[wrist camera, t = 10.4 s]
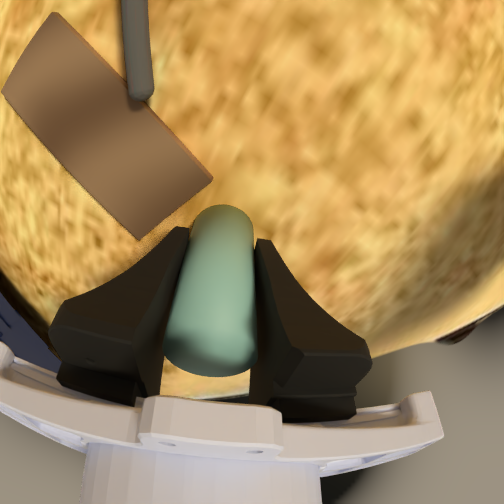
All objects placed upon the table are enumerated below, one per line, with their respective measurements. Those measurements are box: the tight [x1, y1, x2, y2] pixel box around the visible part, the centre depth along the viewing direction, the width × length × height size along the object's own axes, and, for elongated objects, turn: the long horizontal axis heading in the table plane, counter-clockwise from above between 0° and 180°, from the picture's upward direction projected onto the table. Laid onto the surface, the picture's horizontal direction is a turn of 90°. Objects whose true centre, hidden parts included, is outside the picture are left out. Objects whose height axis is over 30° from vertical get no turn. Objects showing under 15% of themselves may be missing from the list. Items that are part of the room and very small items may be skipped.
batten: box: [1, 12, 213, 240], centre depth 10 cm, size 12×5×1 cm, turn 37°
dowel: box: [162, 205, 258, 377], centre depth 11 cm, size 3×3×7 cm
